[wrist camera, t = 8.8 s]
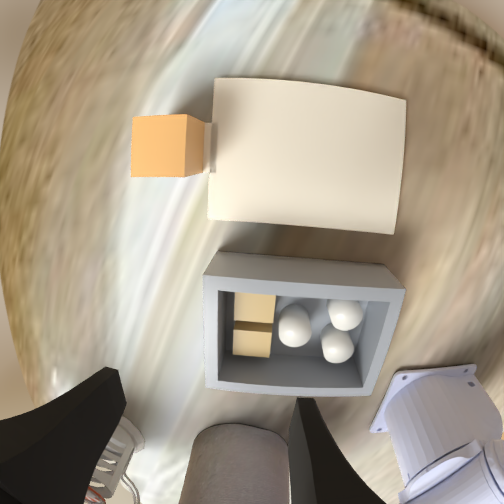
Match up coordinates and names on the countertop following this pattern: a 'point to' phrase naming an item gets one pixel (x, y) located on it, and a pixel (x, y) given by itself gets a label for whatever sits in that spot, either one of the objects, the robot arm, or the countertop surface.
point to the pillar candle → (237, 467)
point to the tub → (297, 324)
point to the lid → (285, 153)
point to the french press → (120, 451)
